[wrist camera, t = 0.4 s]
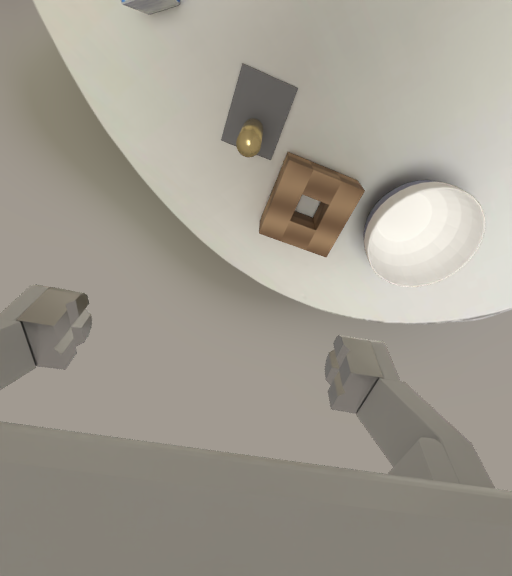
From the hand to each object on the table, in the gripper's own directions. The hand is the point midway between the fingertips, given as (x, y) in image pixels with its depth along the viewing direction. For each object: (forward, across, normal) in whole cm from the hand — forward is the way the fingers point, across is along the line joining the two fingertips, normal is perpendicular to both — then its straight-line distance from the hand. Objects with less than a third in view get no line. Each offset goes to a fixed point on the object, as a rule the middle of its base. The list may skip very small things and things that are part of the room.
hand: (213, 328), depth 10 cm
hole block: (+44, -10, +10) cm, 46 cm away
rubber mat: (+44, 0, -1) cm, 44 cm away
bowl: (+44, -26, +9) cm, 52 cm away
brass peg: (+43, +1, +1) cm, 43 cm away
